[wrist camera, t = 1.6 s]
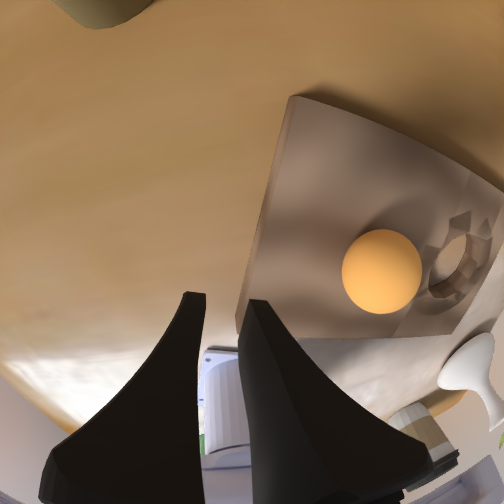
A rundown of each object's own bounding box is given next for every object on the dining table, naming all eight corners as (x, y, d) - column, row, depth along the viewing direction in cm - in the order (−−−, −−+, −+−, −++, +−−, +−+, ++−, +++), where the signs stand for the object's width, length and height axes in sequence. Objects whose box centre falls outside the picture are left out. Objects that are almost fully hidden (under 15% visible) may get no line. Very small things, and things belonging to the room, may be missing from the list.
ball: (378, 285, 19) (411, 331, 15) (320, 278, 18) (346, 331, 14) (406, 224, 17) (450, 262, 13) (345, 208, 16) (387, 249, 12)
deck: (442, 322, 27) (451, 334, 25) (235, 315, 22) (236, 333, 20) (504, 196, 19) (518, 203, 18) (289, 96, 14) (298, 95, 13)
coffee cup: (371, 435, 41) (394, 499, 28) (382, 411, 36) (413, 488, 23) (421, 414, 41) (448, 471, 28) (439, 385, 36) (475, 452, 23)
